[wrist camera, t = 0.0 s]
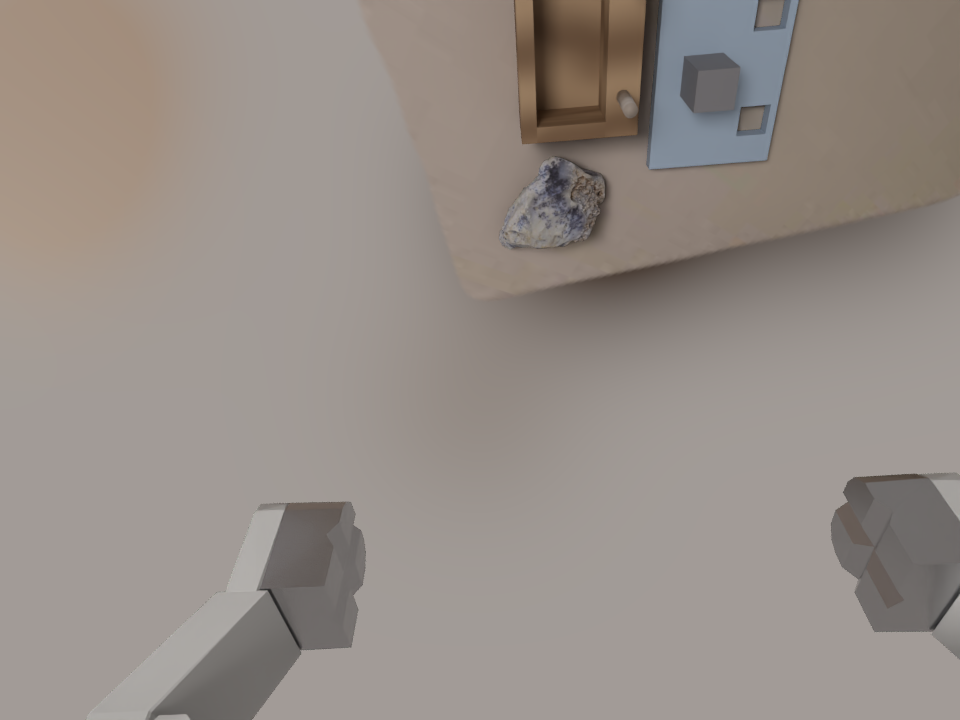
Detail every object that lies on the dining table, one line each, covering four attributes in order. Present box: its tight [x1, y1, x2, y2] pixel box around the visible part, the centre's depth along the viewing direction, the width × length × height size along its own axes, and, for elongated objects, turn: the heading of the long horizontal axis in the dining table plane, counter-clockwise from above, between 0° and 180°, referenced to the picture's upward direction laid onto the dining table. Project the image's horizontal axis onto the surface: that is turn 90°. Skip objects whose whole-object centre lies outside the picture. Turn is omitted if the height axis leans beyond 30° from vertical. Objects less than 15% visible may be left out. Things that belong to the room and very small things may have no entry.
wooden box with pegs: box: [514, 0, 646, 144], centre depth 46 cm, size 14×9×8 cm, turn 5°
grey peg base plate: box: [647, 0, 799, 169], centre depth 49 cm, size 15×10×6 cm, turn 5°
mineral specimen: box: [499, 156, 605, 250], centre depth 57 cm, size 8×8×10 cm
